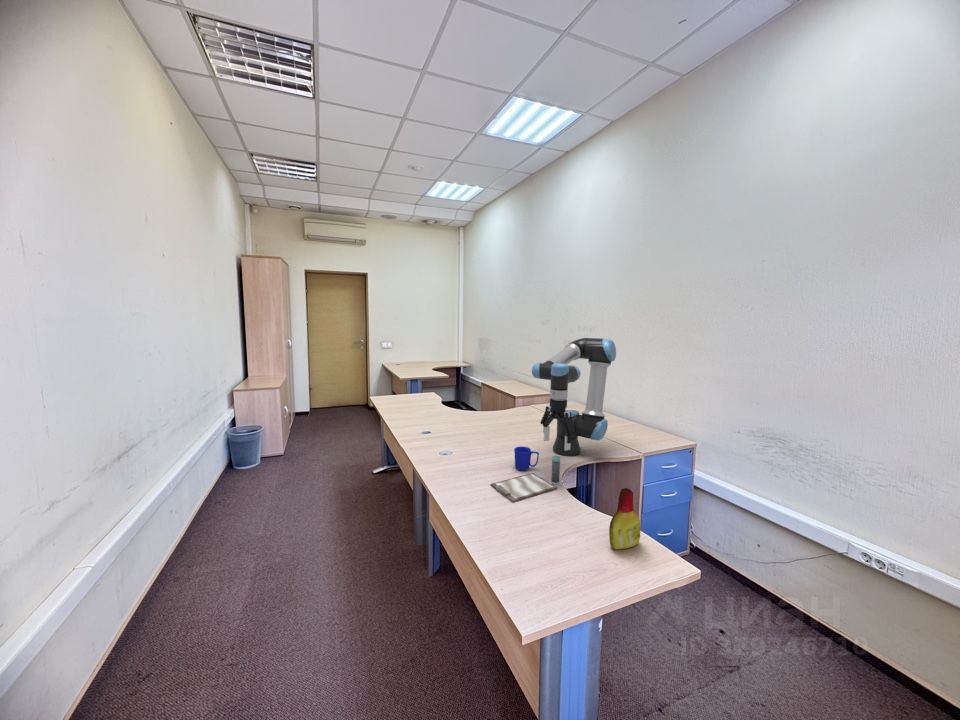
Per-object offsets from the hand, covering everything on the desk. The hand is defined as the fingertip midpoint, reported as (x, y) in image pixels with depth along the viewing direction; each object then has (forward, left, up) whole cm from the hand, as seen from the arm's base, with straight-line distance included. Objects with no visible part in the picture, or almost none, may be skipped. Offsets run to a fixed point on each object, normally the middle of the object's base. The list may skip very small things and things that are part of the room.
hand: (556, 445), depth 162 cm
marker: (0, 0, -18) cm, 18 cm away
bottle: (+11, +45, -18) cm, 50 cm away
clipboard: (+15, -4, -18) cm, 24 cm away
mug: (+2, -19, -18) cm, 27 cm away
